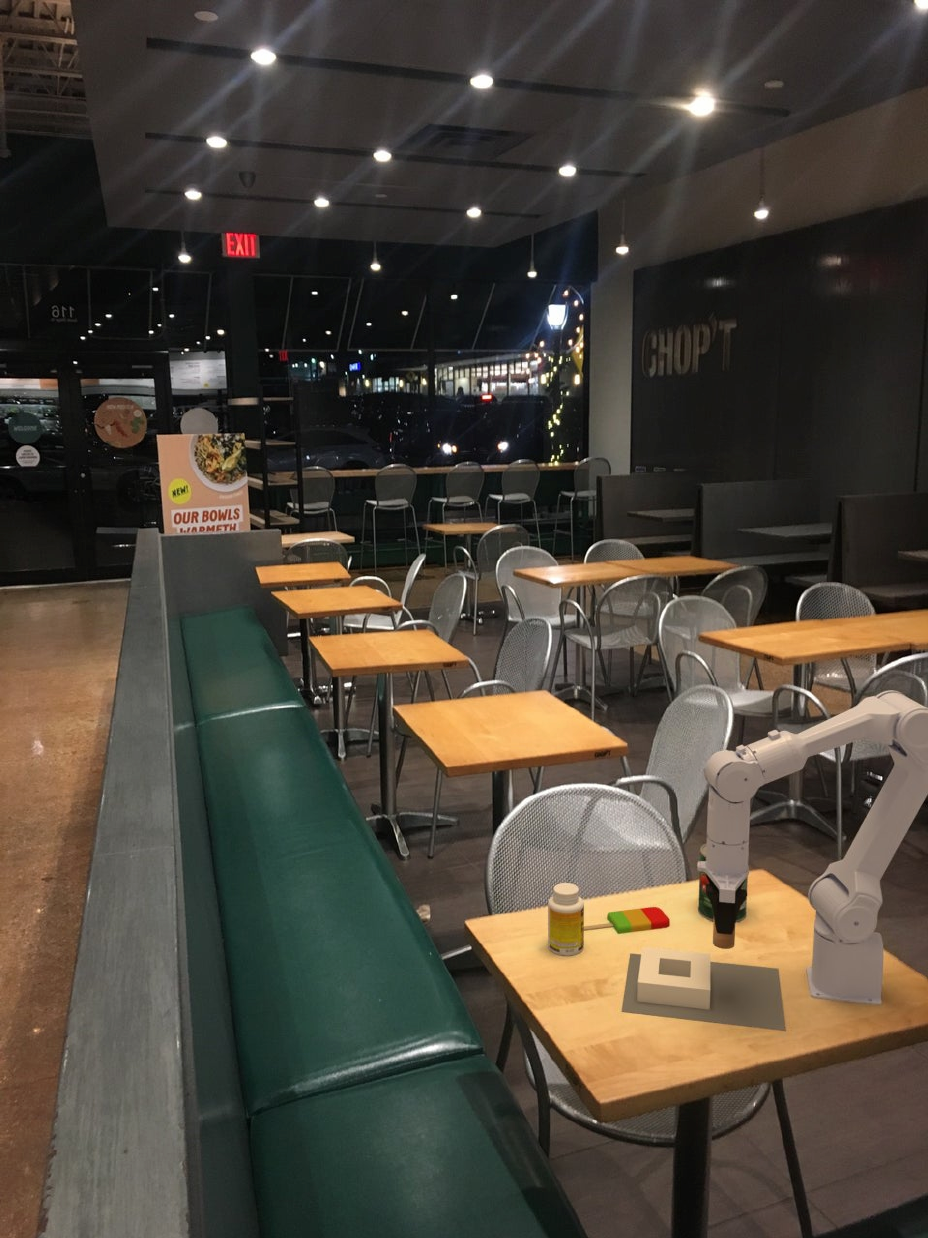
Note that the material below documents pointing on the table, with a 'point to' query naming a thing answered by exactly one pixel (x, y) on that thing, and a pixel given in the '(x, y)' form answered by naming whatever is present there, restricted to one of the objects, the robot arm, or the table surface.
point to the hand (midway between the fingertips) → (724, 926)
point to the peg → (723, 939)
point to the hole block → (674, 978)
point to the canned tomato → (704, 902)
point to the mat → (721, 997)
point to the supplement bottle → (566, 920)
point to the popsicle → (634, 920)
